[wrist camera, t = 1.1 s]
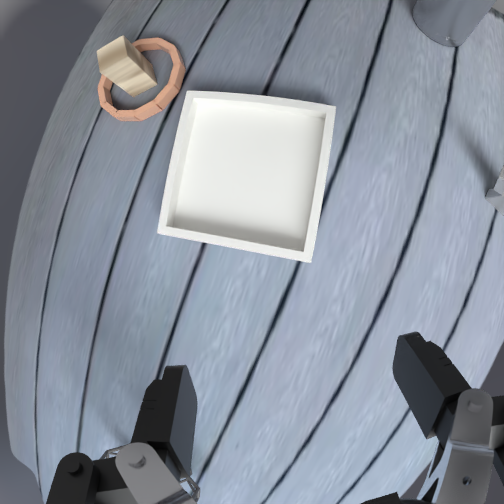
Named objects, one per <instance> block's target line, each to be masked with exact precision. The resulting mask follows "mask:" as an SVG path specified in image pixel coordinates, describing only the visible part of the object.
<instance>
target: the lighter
mask: <svg viewBox="0 0 504 504" xmlns="http://www.w3.org/2000/svg"><path fill="white" fill-rule="evenodd" d="M485 199H486V200H487V201H488V202H489V203H490V204H491V205H492V206H493V207H494V208H495V209H497V210H498V211H499V212H500V213H501V214H502V215H503V216H504V165H503V167H502V170H501V172H500V175H499V177H498V179H497V182H496V184H495V187H494V188H492V189H489V190H488V192H487V195H486V197H485Z"/></svg>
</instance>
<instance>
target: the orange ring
mask: <svg viewBox="0 0 504 504" xmlns="http://www.w3.org/2000/svg"><path fill="white" fill-rule="evenodd" d="M132 45H133V46H134V47H135V48H136V49H137V50H138V51H139V52H140V53H141V52H143V51H145V50H158V49H162V50H163V51H165V52H167V53H169V54H170V55H171V58H172V61H173V64H174V65H173V69H172V72H171V75H170V79H169V82H168V84H167V85H166V86H165V87H164V89H163V90H162V91H161V92H160V93H159V94H158V95H157V97H156V98H155V99H154V100H153V101H151V102H149V103H147V104H145V105H143V106H141V107H139V108H138V109H136V110H118V109H117V108H115V107H114V106H113V103H112V98H111V93H110V89H111V86H112V83H113V82H112V81H111V80H110V79H108V78H107V77H106V76H104V75H103V74H102V76H101V79H100V82H99V85H98V93H99V99H100V105H101V107H103V108H104V109H105V110H106V111H107V112H109V113H110V114H111V115H112V116H114V117H115V118H117V119H119V120H120V121H143V120H145V119H147V118H149V117H150V116H152V115H154V114H156V113H158V112H160V111H162V109H163V110H164V109H165V107H166V106H167V105H168V104H169V103H170V101H171V100H172V99H173V98H174V97H175V96H176V95H177V93H178V92H179V90H180V88H181V85H182V81H183V78H184V74H185V71H186V70H185V69H186V68H185V66H184V63H183V60H182V57H181V54H180V52H179V51H178V49H177V48H176V47H175V45H173V44H171V43H169V42H167V41H165V40H163V39H161V38H148V39H140V40H137V41H135V42H134V43H132Z"/></svg>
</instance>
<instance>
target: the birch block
mask: <svg viewBox="0 0 504 504" xmlns="http://www.w3.org/2000/svg"><path fill="white" fill-rule="evenodd" d="M97 55H98V62H99V68H100V73H102V74H103V75H104V76H106V77H107V78H108V79H110V80H111V81H112V82H114V83H115V84H117V85H118V86H119V87H121V88H122V89H123V90H125V91H126V92H127V93H129V94H130V95H131V96H133V97H135V96H137V95H139V94H140V93H142V92H144V91H146V90H148V89H150V88H152V87H154V86H156V85H158V84H157V81H156V77H155V74H154V70H153V67H152V64H151V63H150V62H149V61H148V60H147V59H146V58H145V57H144V56H143V55H142V54H141V53H140V52H139V51H138V50H137V49H136V48H135V47H134V46H133V45H132V44H131V43H130V42H129V41H128V40H127V39H126V38H125V37H124V36H121V37H119V38H117V39H116V40H114V41H112V42H111V43H109V44H107V45H106V46H104V47H103V48H101V49H99V50H98V51H97Z"/></svg>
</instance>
